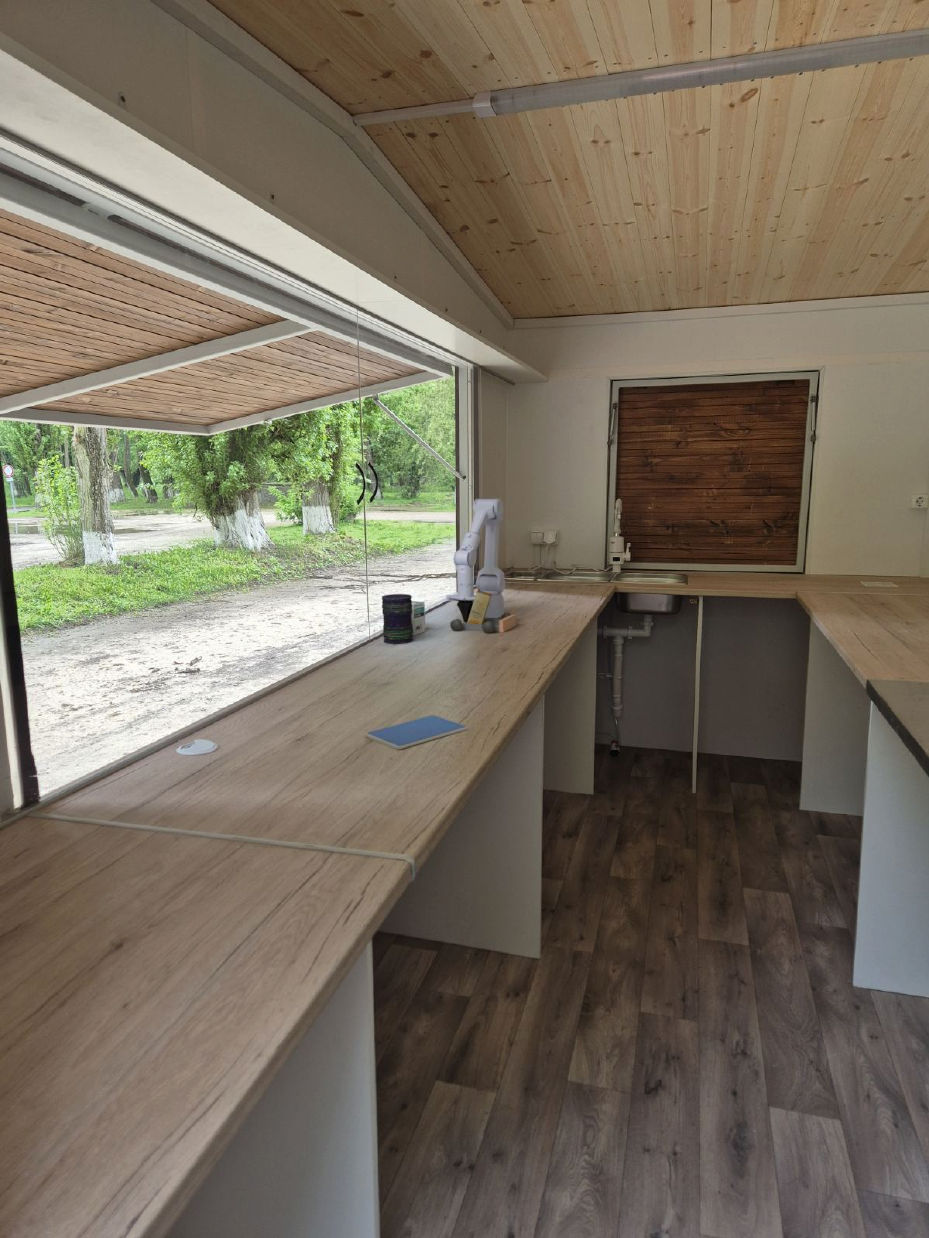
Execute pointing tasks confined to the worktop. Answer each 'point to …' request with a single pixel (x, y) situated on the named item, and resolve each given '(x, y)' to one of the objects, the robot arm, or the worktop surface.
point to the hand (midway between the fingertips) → (466, 621)
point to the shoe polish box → (479, 607)
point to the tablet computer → (415, 732)
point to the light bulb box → (418, 617)
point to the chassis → (487, 624)
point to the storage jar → (397, 619)
